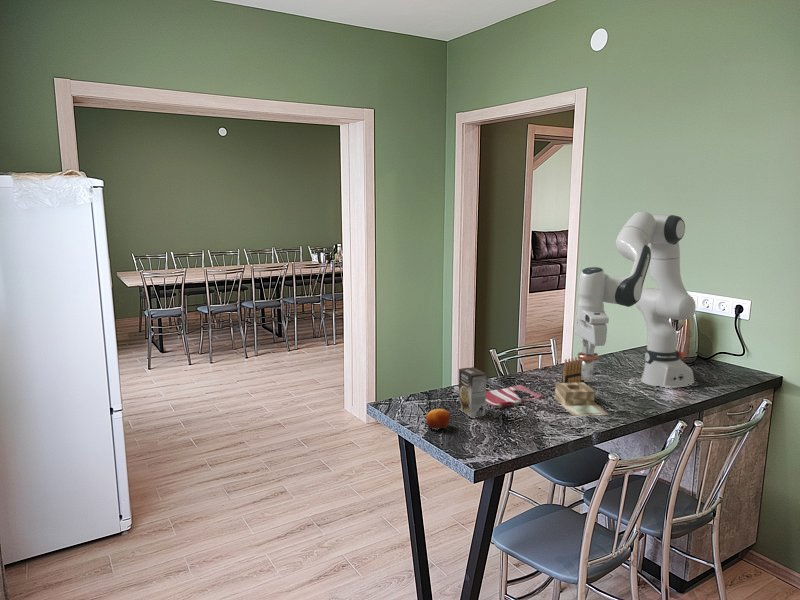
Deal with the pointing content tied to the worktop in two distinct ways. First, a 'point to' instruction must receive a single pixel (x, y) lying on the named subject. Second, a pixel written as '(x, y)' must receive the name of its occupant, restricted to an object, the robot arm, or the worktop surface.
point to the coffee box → (472, 391)
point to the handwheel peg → (587, 363)
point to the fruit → (438, 418)
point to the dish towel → (508, 396)
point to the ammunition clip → (572, 371)
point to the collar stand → (577, 399)
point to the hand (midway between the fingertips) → (588, 352)
